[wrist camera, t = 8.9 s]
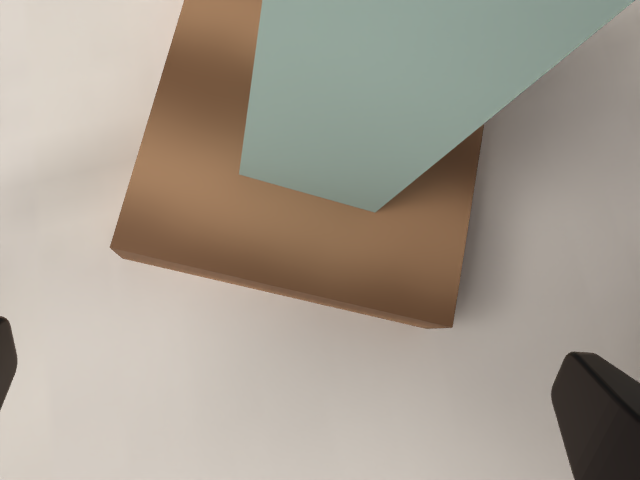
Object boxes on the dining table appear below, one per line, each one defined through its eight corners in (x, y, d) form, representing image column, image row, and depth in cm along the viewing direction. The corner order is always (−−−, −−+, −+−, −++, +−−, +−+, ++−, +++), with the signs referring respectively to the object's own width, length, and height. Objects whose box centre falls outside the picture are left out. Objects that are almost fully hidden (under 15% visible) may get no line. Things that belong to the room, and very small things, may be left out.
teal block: (374, 212, 19) (665, -25, 7) (238, 174, 19) (285, -166, 6) (401, 88, 21) (693, -310, 8) (273, 48, 20) (373, -456, 7)
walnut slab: (421, 328, 22) (452, 327, 19) (124, 260, 20) (109, 247, 18) (465, 68, 25) (498, 32, 22) (204, -12, 23) (203, -63, 20)
